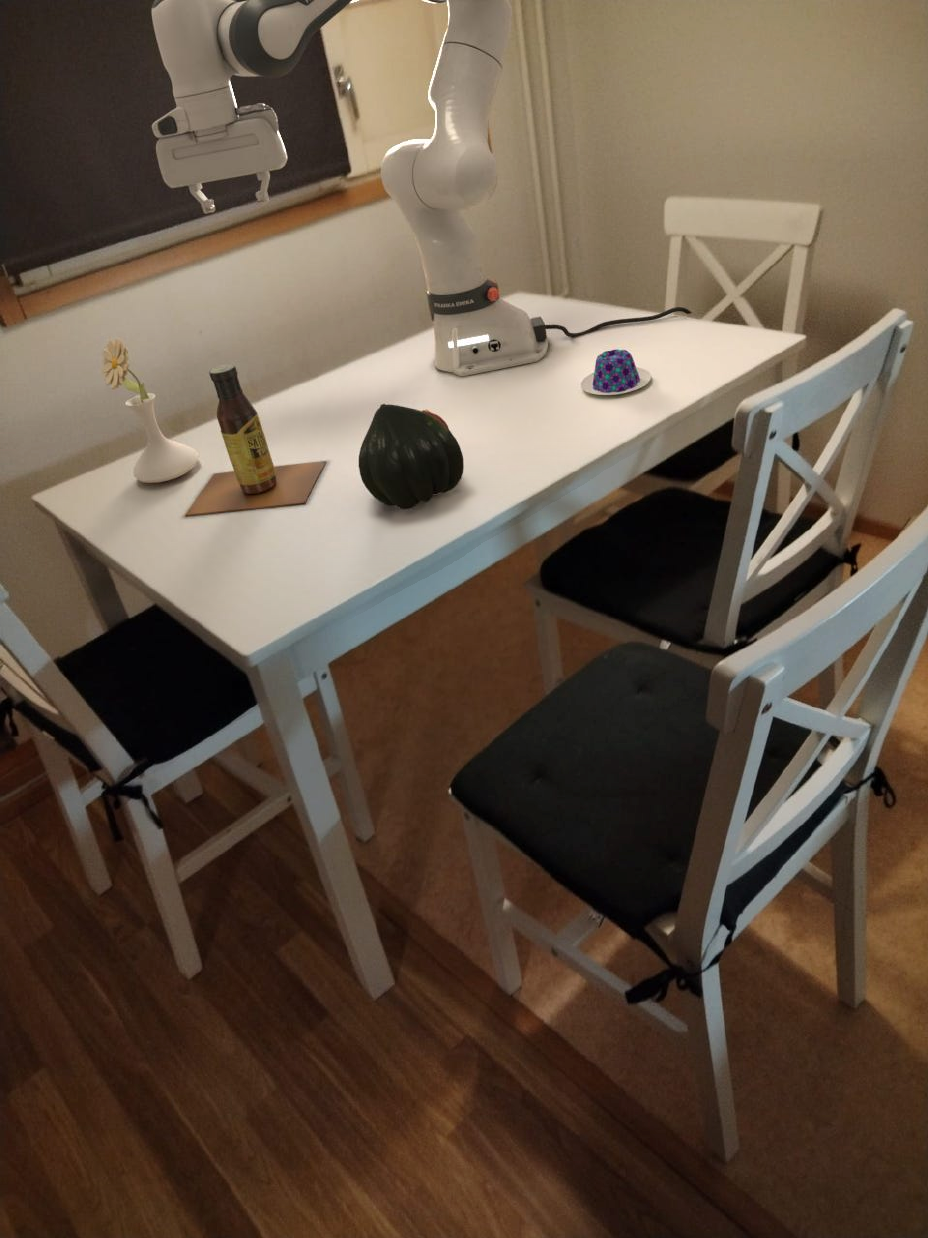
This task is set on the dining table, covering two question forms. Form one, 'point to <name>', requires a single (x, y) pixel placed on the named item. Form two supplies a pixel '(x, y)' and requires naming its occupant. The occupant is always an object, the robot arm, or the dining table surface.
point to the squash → (408, 457)
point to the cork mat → (287, 491)
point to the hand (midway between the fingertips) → (237, 207)
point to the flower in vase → (147, 423)
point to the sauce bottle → (242, 433)
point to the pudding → (615, 374)
